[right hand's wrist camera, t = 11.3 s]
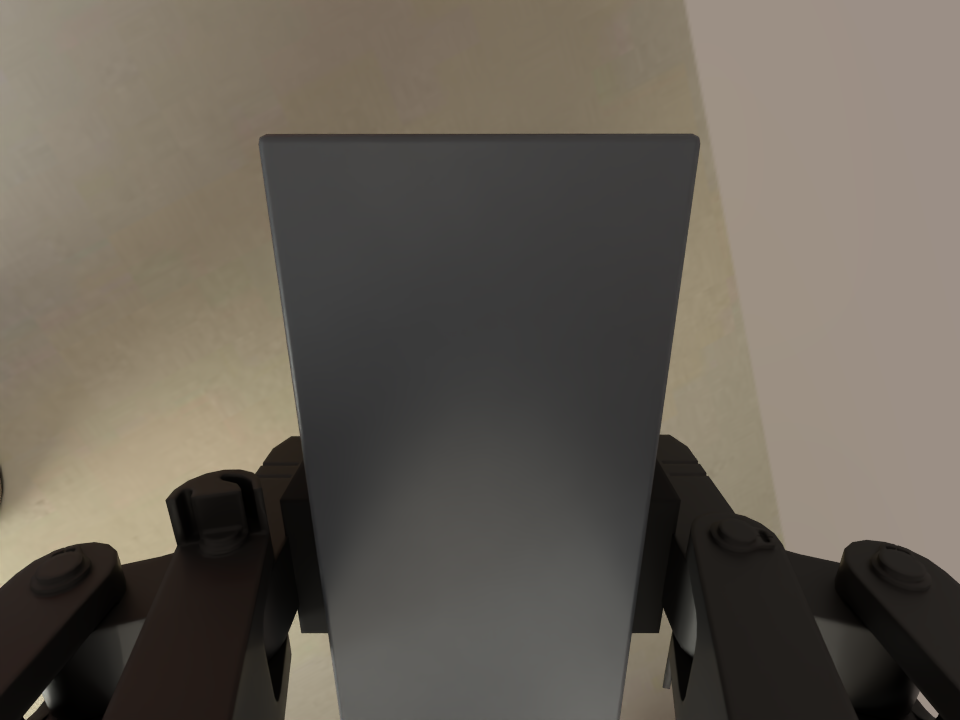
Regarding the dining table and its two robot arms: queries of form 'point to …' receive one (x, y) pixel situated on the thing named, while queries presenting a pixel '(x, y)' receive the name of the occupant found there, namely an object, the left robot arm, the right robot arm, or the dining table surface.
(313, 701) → the dining table surface
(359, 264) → the beam
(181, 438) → the dining table surface
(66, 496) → the dining table surface
